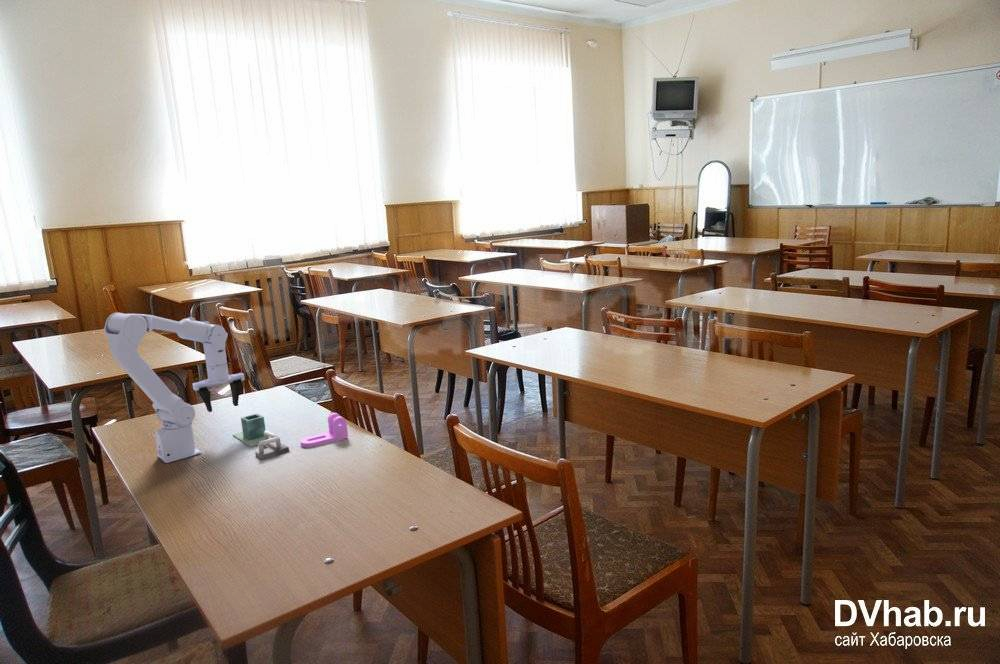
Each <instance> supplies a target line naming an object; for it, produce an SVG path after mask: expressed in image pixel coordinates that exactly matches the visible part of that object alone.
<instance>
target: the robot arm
mask: <svg viewBox="0 0 1000 664" xmlns="http://www.w3.org/2000/svg"><path fill="white" fill-rule="evenodd" d="M195 319H196V318H195V317H190V316H188V317H187V318H182V319H181V320H179V321H177V320H174V319H170V318H169V319H168V318H164V317H161V316H156V315H153V314H143V313H123V312H118V311H117V312H114V313H112V314H110V315H109V316H108V317H106V321H105V325H104V327H103V333H104V334H105V336H106V337H107V341H108V345H109V351H110V355H111V357H112V359H113V360H114V361H115V362H116V363H117V364H118V365H119V366H120V367H121V368H122V370H123V371H124V372H125V373H126V374H127V375H128V376H129V377H130V378H131V379H132V381H134V383H135V384H136V385H137V386H138V388H139V389H141V390H142V391H143V393H144V394H145V395H146V396H147V397H148V398H149V399H150V401H152V405H151V406H152V408H153V409H154V411H155V413H156V417H157V419H158V420H159V421H161V422H162V427H161V428H159V429H156V430H155V431H154V437H155V438H154V439H155V444H156V450H157V451H156V452H157V457H158V458H159V459H160V460H161V461H162V462H164V463H165V464H168V463H172V462H174V461H178V460H183V459H186V458H189V457H193V456H196V455H200V454H202V453H201V452H202V451H200V450H199V449H198V448H197V447H196V443H195V437H194V430H193V421H194V420H195V417H196V411H195V408H194V406H193V405H191V404H190V403H187V402H185V401H184V400H183V399H182V398H181V397H179V396H178V395H176V394H175V393H173V392H172V391H171V390H170V389H169V387H168V386H167V385H166V384H165V382H163V380H162V379H161V378H160V377H159V376H158V375H157V374H156V372H154V370H153V369H152V367H151V366H150V365H148V363H147V362H146V361H145V360H144V358H143V357H142V356H141V355H140V354H139V353H138V351H137V350H138V347H139V345H140V344H141V342H142V341H143V338H144V337H145V335H146V333H151V332H152V331H153V330H160V331H165V332H172V333H176V335H177V336H178V337H179V338H180V339H183V340H189V341H192V342H193V341H194V342H197V343H198V342H200V343H201V344H202V345H203V352H204V358H205V366H206V372H207V373H206V374H207V379H203V380H200V381H198V382H197V381H196V382H193V383H192V389H193V391H195V392H197V394H198V395H199V396H200V398H201V399H202V401H203V403H204V405H205V407H206V411H207V412H209V413H211V412H213V407H212V406H213V405H212V401H211V391H210V389H209V388H211V387H216V386H217V387H218V386H221V385H226V384H229V388H230V392H231V399H232V400H231V401H232V404H233V406H236V407H238V406H239V399H240V394H241V390H242V388H243V386H244V382H243V381H245V380H246V378H245V377H246V376H245V373H243V372H239V373H234V374H229V368H228V367H229V366H228V360H227V353H226V341H227V340H228V337H229V336H228V335H229V333H228V332H226V330H225V328H224V327H223V326H222V325H221V324H211V323H210V321H207V320H205V321H199V320H195Z"/></svg>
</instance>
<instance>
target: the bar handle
mask: <svg viewBox="0 0 1000 664" xmlns="http://www.w3.org/2000/svg"><path fill="white" fill-rule="evenodd" d="M269 437H271V438H269ZM264 438H265V440H262V441H258V443H259V444H258V445H257V446H258V450H257V451H255V457H257V458H259V459H260V460H265V459H268V458H271V457H275V456H278V455H281V454H284V453H287V452H290V447H289V446H287V445H286V444H283V443H282V442H281V438H280V436H279V435H276V434H275V433H272V432H271V431H269V430H267V429H265V431H264Z"/></svg>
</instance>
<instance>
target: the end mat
mask: <svg viewBox="0 0 1000 664" xmlns="http://www.w3.org/2000/svg"><path fill="white" fill-rule="evenodd" d="M232 437H234V438H236V439H238V440H239V441H241V442H242V443H244V444H246V445H248V446H249V447H250V448H252V447H256V446H258V444H259V443H258V441H262V440H265V438H264V437H261V438H257V439H254V440H248V439H247V438H245V437H243V431H240V432H237V433H233V434H232ZM269 438H271V437H269Z"/></svg>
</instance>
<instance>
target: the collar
mask: <svg viewBox="0 0 1000 664" xmlns="http://www.w3.org/2000/svg"><path fill="white" fill-rule="evenodd" d="M240 422H241V429H242V432H243V437H245V438H247V439H248V440H254V439H257V438H261V437H264V431H265V430H266V423H265V422H266V421H265V417H264V416H262V415H261V414H259V413H254V414H250V415H246V416H243V417H240Z"/></svg>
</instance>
